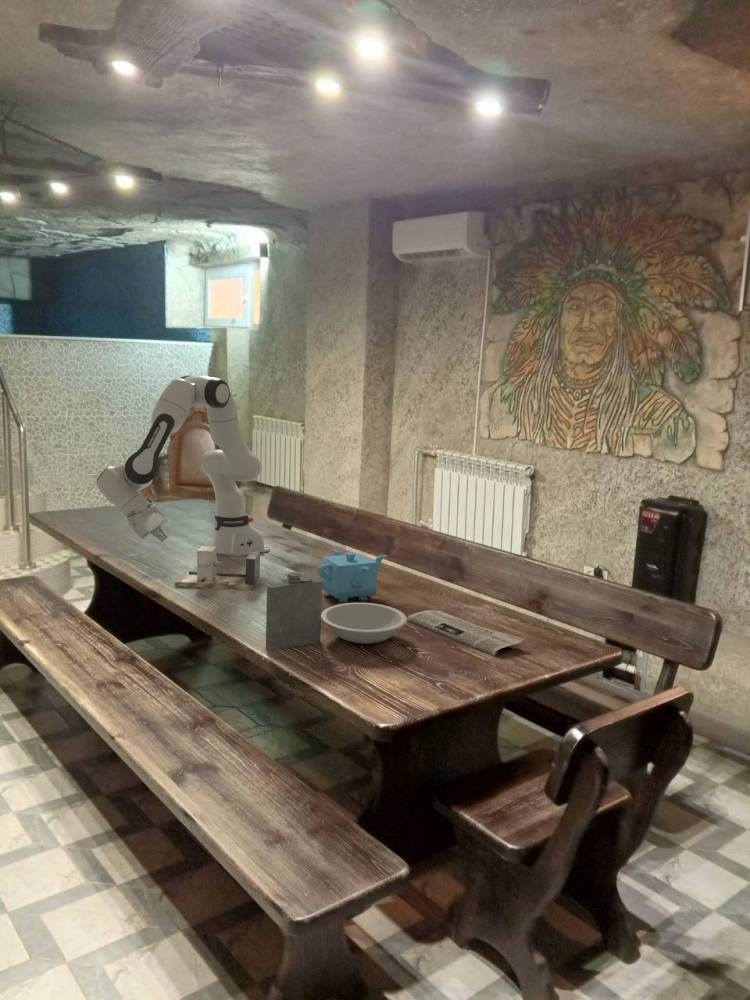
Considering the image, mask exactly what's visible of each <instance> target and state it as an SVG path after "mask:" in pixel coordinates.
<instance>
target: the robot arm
mask: <svg viewBox="0 0 750 1000" xmlns="http://www.w3.org/2000/svg"><path fill="white" fill-rule="evenodd" d="M192 407H199V408H206V415H207V422H208V427H209V434H210V438H211V441H213V443H215V444H216V445H217V446H218V447H219V448H220V449H212V450H207V451H205V452H204V454H203V455H202V457H201V459H200V467H201V470H202V472H203V473H204V474H205V475H206V476H207V477H208V479H209V481H210V483H211V485H212V488H213V492H214V496H215V498H214V499H215V514H214V520H213V523H214V524H213V526H214V536H213V542H212V545H211V547H216V554H218V555H219V554H220V555H228V556H234V557H239V556H240V557H241V556H247V555H246V554H248V555H249V553H250V552H251V551H260V552H262V553H267V552H266V551H268V552H270V546H269V545H268V544H266V543H265V541H264V536H263V534H262V533H261V532H260V531H259V530H258V529H256V527H254V526H252V525H251V524H250V523H253V522H254V518H253V516H249V515H247V514H246V513H245V512H246V508H245V507H246V497H245V494H244V493H243V491H242V490H240V488H239V487H238V486H237V483H236V482H242V483H244V482H252V481H255V480H256V479H258V478H259V477H260V474H261V471H262V464H261V461H260V459H259V457H258V456H256V455H255V454H254V453H253V452H252V451H251V450H250V449H249V447H248V444H246V442H245V439H244V437H243V435H242V432H241V428H240V422H239V417H238V416H239V415H238V410H237V405H236V402H235V399H234V397H233V394H232V392H231V390H230V387H229V384H228V383H227V382H226V380H224V379H222V378H219V377H213V376H207V375H184V376H181V377H179V378H174V379H172V380H171V381H170V382H169V383H168V384H167V386H166V387H165V389H164V390H163V392H162V393H161V395H160V396H159V398H158V400H157V401H156V404H155V406H154V408H153V411H152V415H151V418H150V421H151V426H150V429H149V431H148V433H147V435H146V437H145V439H144V440H143V442H142V444H141V446H140V447H139V449H138V450H136V451H135V452H134V453H133V454H131V455H130V456H129V457H128V458H127V460H126V461H125V463H124V464H120V465H115V466H107V467H106V468H104V470H103V471H102V472H101V473H100V475H99V476H98V477H97V479H96V487H97V489H98V490H99V492H100V493H101V495H103V497H105V499H107V501H108V502H109V503H110V504H112V505H114V506H115V507H116V509H117V511H118V512H119V514H121V516H123V518H124V519H126V520H127V521H128V525H129V527H131V529H132V531H134V533H135V534H136V535H137V536H138V537H139V538H141V539H142V540H143V539H146V537H148V536H149V535H151V536H153V537H155V538H156V539H158V540H159V541H160V542H164V541H166V540H167V539H168V537H169V536H168V534H166V533H165V531H164V529H163V527H162V526H163V525H164V524H166V523H167V518H166V516H165V515H164V513H163V512H162V511H161V510H160V509H159V508H158V507H157V506H156V505H155V504H154V501H153V500H152V499H151V498H150V497H145V496H143V495H142V494H140V491H141V490H144V489H146V488H147V487H149V486H150V485H151V484H152V482H153V480H154V479H155V477H156V476H157V473H158V468H159V465H158V464H159V463H158V462H159V461H158V460H159V457H160V454H161V452H162V451H163V449H164V446H165V444H166V443H167V441H168V439H169V438H170V436H171V435H172V434H175V433H177V432H178V431H179V430H180V428H181V427H182V426H183V424H184V423H185V421H186V419H187V418H188V415H189V414H190V411H191V409H192Z"/></svg>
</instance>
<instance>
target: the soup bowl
mask: <svg viewBox="0 0 750 1000" xmlns="http://www.w3.org/2000/svg"><path fill="white" fill-rule="evenodd" d="M407 617H408V616H407V615H406V613H404V612H402V611H401V610H399V609H397V608H394V607H392V606H387V605H384V604H380V603H379V604H378V603H373V602H372V603H371V602H346V603H338V604H336V605H332V606H329V607H327V608H325V609H324V610H323V611H321V621H322V622H323V623H324V624H326V625H327V626H328V627H329V629H330V631H331V632H333V634H335V635H336V636H337V637H339V638H340V639H343V640H344V641H347V642H351V643H354V644H375V643H381V642H383V641H386V640H388V639H390V638H391V637H393V636H394V635H395V634H396V633H397V632H398V631H399V629H400V628H403V627H404V626H406V624H407V623H408V621H407Z"/></svg>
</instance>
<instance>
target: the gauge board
mask: <svg viewBox="0 0 750 1000" xmlns="http://www.w3.org/2000/svg"><path fill="white" fill-rule="evenodd" d="M245 574H246V573H245ZM245 574H242V573H240V574H239V573H225V572H224V573H223V572H216V576H215V577H214V579H213V580H212V581H211V580H205V581H204V582H202V580H197V571H185V572H184V573H182V574H181V576H180V577H178V578H177V579H176V580H175V581H174V587H175V586H183V587H182V588H192V587H201V588H200V589H210V588H221V589H220V590H229V589H234V590H233V591H248V590H249V591H250V592H252V591H253V592H254V591H255V590H256V588H257V586H258V585H259V583H260V582H261V576H260V577H259V579H258V580H257V582H256V584H255V585H246V584H245ZM257 584H258V585H257Z"/></svg>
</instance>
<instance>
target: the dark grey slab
mask: <svg viewBox="0 0 750 1000" xmlns="http://www.w3.org/2000/svg"><path fill="white" fill-rule="evenodd" d="M260 569H261V553H260V551H251V552H250V553H249V554H248V555H246V558H245V584H246V585H255V584H256V582H257V580H258V579H259V577H260V578H261V574H260V573H261V572H260V571H261V570H260Z"/></svg>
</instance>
